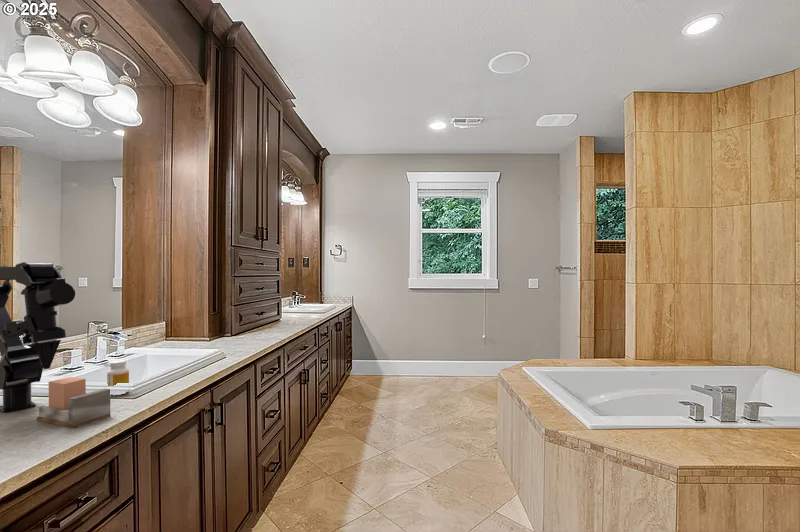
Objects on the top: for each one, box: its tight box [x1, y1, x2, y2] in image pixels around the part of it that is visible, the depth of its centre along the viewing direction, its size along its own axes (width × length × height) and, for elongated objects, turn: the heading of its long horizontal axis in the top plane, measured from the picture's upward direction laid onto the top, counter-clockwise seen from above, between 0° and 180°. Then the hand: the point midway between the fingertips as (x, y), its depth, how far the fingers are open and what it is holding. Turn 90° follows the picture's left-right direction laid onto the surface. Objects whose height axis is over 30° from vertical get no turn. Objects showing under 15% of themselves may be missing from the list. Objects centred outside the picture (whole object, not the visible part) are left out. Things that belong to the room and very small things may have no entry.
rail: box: [36, 388, 111, 429], centre depth 104 cm, size 14×8×7 cm, turn 68°
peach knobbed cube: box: [48, 376, 87, 410], centre depth 105 cm, size 7×5×8 cm
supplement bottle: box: [106, 359, 130, 386], centre depth 124 cm, size 5×5×10 cm
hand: (46, 368), depth 108 cm, fingers closed
